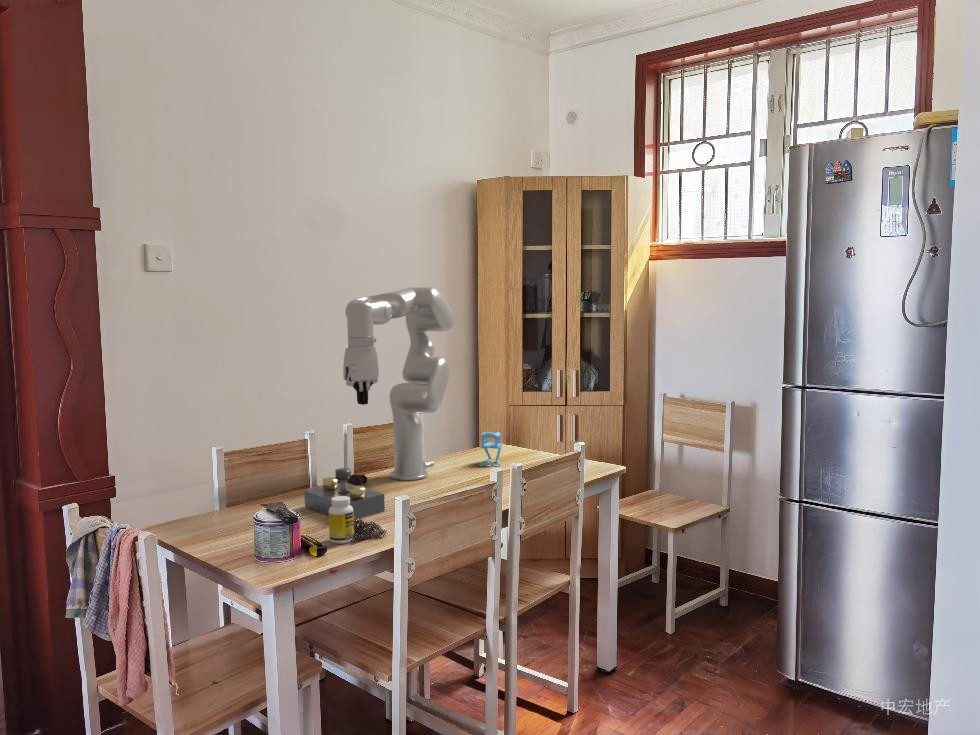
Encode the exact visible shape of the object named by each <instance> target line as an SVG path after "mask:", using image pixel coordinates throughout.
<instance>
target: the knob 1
mask: <svg viewBox="0 0 980 735" xmlns="http://www.w3.org/2000/svg"><path fill="white" fill-rule="evenodd" d="M322 487H323V488H324V489H327V490H332V489H335V488H338V480H337V479H336V477H333V476H332V477H331V476H330V477H325V478H323V479H322Z"/></svg>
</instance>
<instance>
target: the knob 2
mask: <svg viewBox="0 0 980 735" xmlns="http://www.w3.org/2000/svg"><path fill="white" fill-rule="evenodd" d="M365 488H366V486H365V485H362V486H352V487H350V497H351V498H354V499H359V498H362V497H365V496H366V493H365Z"/></svg>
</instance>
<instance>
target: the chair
mask: <svg viewBox="0 0 980 735" xmlns="http://www.w3.org/2000/svg"><path fill="white" fill-rule="evenodd" d="M480 437H481V440H482V442H481V443H482V444H481V445H480V449H484V451H485V453H486V455H487V457H488V459H486V460H483V461H480V462H478V466H479V465H491V466H490V467H492V466H494V465H499V466H495V467H497V468H498V467H501V462H500V461H499V460H500V459H499V458H500V454H501V450H502V446H503V442H501V437H502V433H501V432H498V431H497V432H491V431H487V432H486V431H484V432H481V434H480ZM489 439H495V442H488V441H489ZM488 449H494V450H495V449H497V454H496V457H495V463H491V462H489V461H492V460H493V459H492V456H491V454H490V452H489V450H488ZM486 462H489V463H486ZM495 467H494V468H495Z"/></svg>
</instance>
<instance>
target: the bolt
mask: <svg viewBox="0 0 980 735" xmlns="http://www.w3.org/2000/svg"><path fill="white" fill-rule="evenodd" d="M339 483H340V480H338V484H339ZM347 483H349V484H353V485H356V486H364V485H365V484H367V483H368V477H367V476H366V475H364V474H355V473H353V474H351V478H350V479H347Z"/></svg>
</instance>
